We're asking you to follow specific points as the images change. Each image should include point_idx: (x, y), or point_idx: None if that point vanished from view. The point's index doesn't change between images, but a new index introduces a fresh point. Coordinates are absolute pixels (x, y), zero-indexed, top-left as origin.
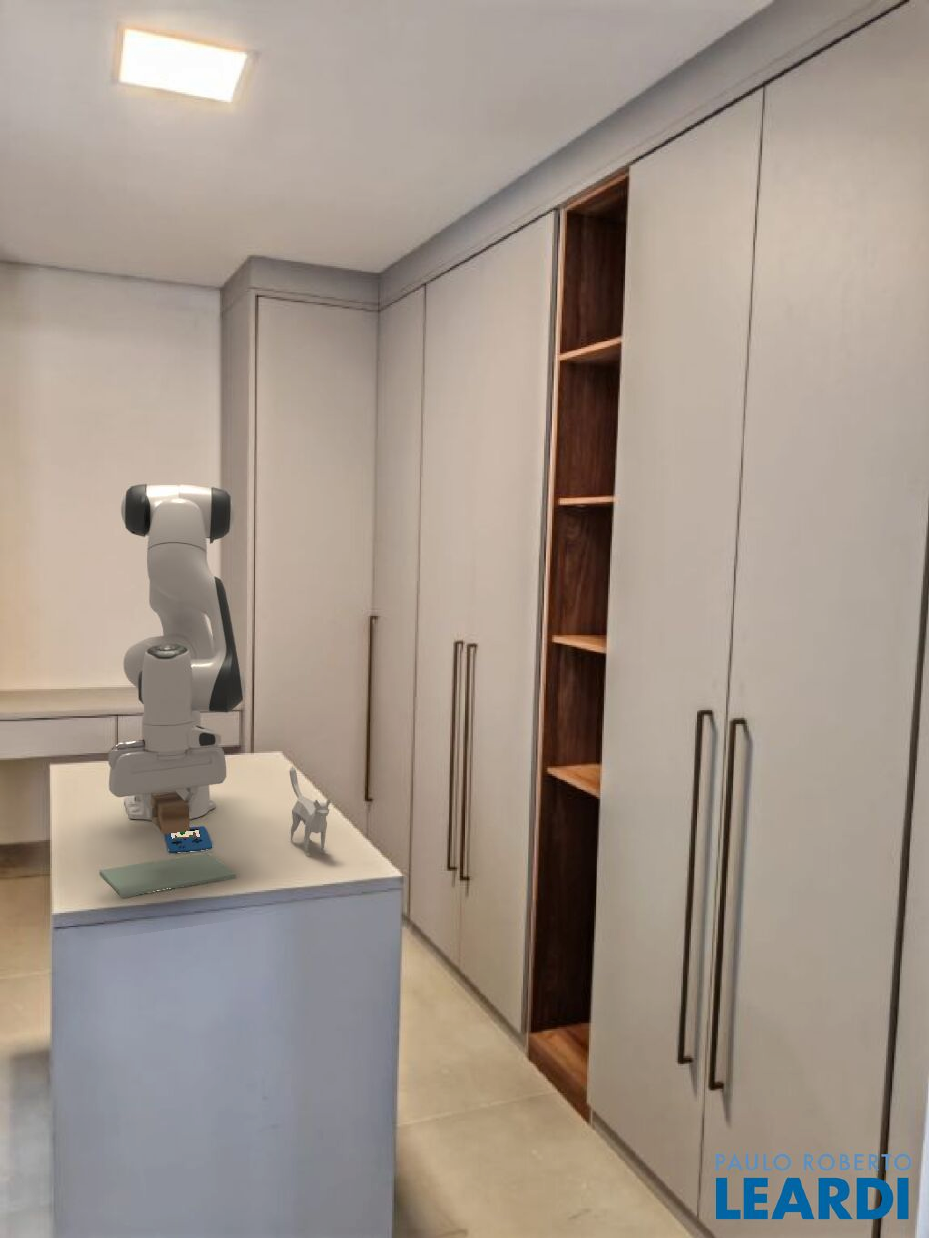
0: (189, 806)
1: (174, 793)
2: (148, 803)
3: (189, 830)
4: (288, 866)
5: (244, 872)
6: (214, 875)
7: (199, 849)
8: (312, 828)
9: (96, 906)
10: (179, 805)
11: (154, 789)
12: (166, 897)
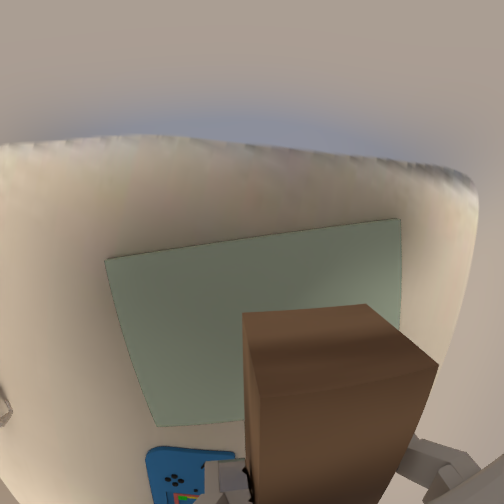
0: (217, 477)
1: None
2: (437, 451)
3: None
4: (4, 286)
5: (85, 288)
6: (158, 272)
7: (172, 449)
8: None
9: (440, 192)
10: (325, 415)
11: (462, 498)
12: (308, 177)
